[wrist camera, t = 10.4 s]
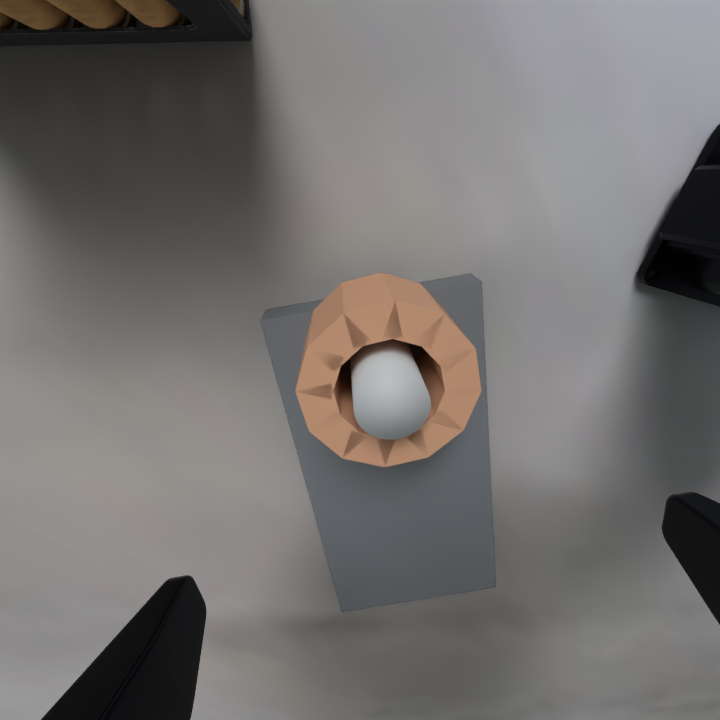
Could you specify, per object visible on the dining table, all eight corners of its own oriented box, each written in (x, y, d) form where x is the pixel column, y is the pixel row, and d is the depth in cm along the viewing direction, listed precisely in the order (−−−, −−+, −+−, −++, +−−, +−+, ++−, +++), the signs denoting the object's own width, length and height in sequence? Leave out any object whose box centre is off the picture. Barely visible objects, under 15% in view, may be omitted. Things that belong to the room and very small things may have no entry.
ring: (471, 298, 17) (508, 331, 13) (421, 421, 19) (441, 479, 15) (327, 256, 16) (324, 280, 12) (292, 391, 18) (280, 445, 14)
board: (487, 564, 25) (533, 684, 19) (341, 588, 25) (343, 714, 19) (470, 273, 18) (537, 321, 12) (266, 309, 18) (231, 374, 12)
